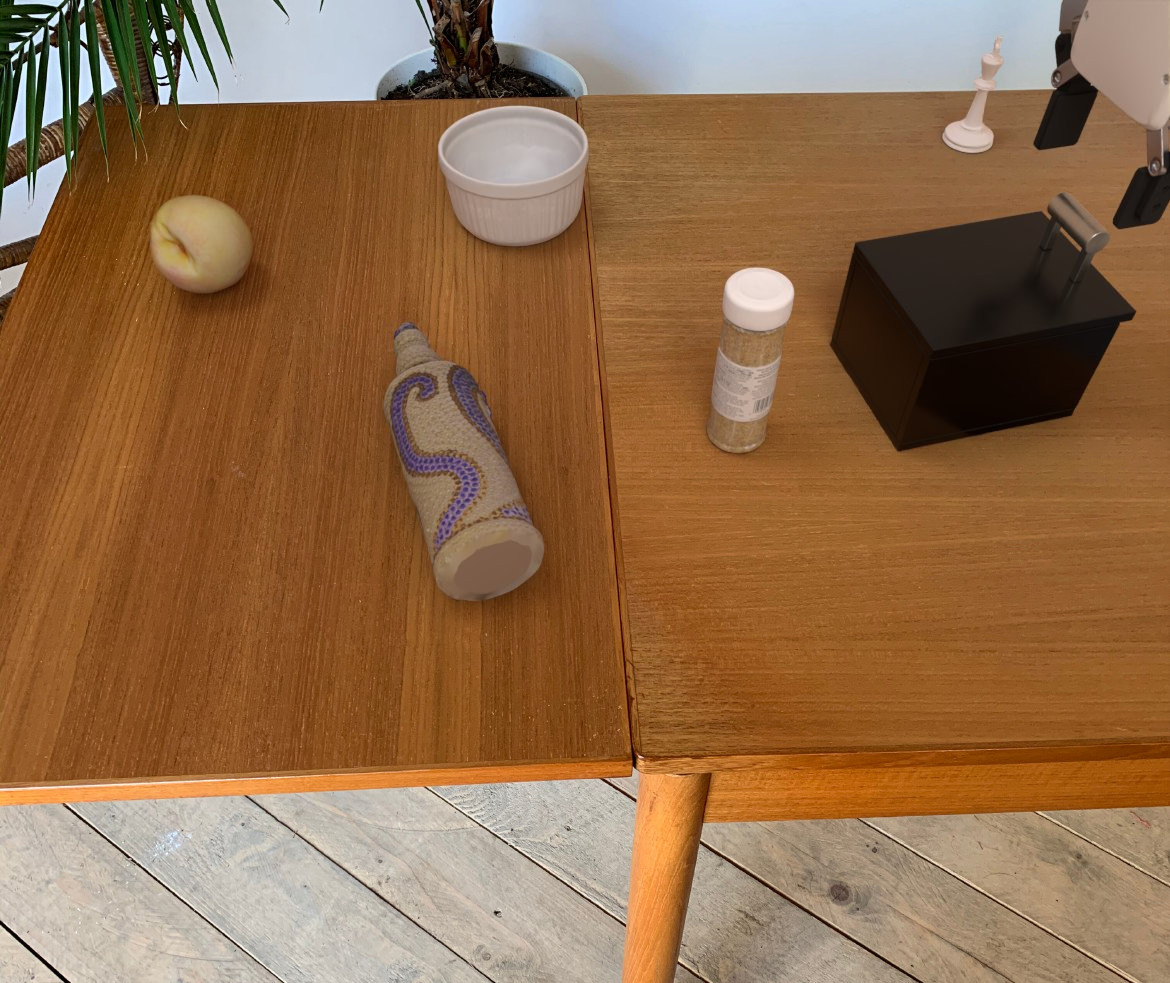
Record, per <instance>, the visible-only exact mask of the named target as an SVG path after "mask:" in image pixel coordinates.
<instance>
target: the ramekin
mask: <svg viewBox="0 0 1170 983" xmlns="http://www.w3.org/2000/svg"><path fill="white" fill-rule="evenodd" d="M589 151H590V148H589V139H588V135H587V134H586V132H585V130H584V129H583V128H582V126H581V125H580V124H579V123H578V122H577V121H575V120H574V119H573V118H571V117H569V116H568V115H566V114H563V113H561V112H559V111H556V110H552V109H549V108H545V107H540V106H539V107H538V106H531V105H505V106H497V107H491V108H486V109H482V110H479V111H476V112H473V113H470V114H468V115H466V116H464V117H462V118H460V119H458V120H456V121H455V122H454V123H452V124H451V125H450V126H449V127H448V128H446V129H445V131H444V132H443V133H442V134H441V136H440V138H439V141H438V145H437V157H438V165H439V168H440V170H441V172H442V174H443V175H444V178H445V182H446V187H447V190H448V194H449V198H450V202H451V206H452V209H453V212H454V214H455V216H456V218H457V220H458V221H459V222H460V224H461V226H462V227H464V228H465V229H466V230H467V231H468V232H469V233H470V234H472V235H473V236H474V237H476V238H477V239H479V240H482V241H484V242H486V243H489V244H493V245H497V246H503V247H527V246H533V245H538V244H542V243H545V242H547V241H550V240H552V239H554V238H556V237H558V236H560V235H561V234H563V233H564V232H565V231H566V230H567V229H568V228H569V227H570V226H571V224H573V222H574V221H575V220H576V218H577V216H578V214H579V212H580V210H581V206H582V199H583V193H584V186H585V178H586V177H585V175H586V168H587V166H588V162H589V157H590V152H589Z"/></svg>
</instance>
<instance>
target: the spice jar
mask: <svg viewBox="0 0 1170 983" xmlns="http://www.w3.org/2000/svg"><path fill="white" fill-rule="evenodd" d="M794 299H795V288H794V285H793V283H792V281H791V280H790V279H789V278H788V277H787V276H786V275H784V274H783V273H781V272H779V271H778V270H775V269H771V268H767V267H758V266H757V267H756V266H755V267H747V268H743V269H740V270H738V271H736V272H734V273H732V274H731V275H730V276H729V278H728V279H727V280H726V282H725V284H724V289H723V295H722V303H721V309H722V310H721V311H722V314H723V315H722V316H723V317H722V324H721V332H720V338H719V344H718V349H717V355H716V363H715V368H714V374H713V382H712V389H711V406H710V413H709V419H708V420H707V424H706V434H707V436H708V438H709V441H710V442H711V443H713V444H714V445H715V446H716V447H717V448H718V449H720V450H722V451H725V452H728V453H732V454H733V453H734V454H743V453H744V454H745V453H749V452H752V451H754V450H756V449H758V448H759V447H761V446H762V444H764V441H765V440H766V436H767V424H768V418H769V414H770V411H771V408H772V406H773V405H772V404H773V399H774V395H775V390H776V384H777V379H778V374H779V370H780V365H781V360H782V355H783V344H784V338H785V332H786V328H787V324H788V322H789V320H790V318H791V315H792V311H793V307H794V306H793V305H794Z"/></svg>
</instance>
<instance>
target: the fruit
mask: <svg viewBox="0 0 1170 983" xmlns="http://www.w3.org/2000/svg"><path fill="white" fill-rule="evenodd" d="M155 213H156V214H155V215H154V217H153V219H152V221H151V224H150V229H149V253H150V256H151V260H152V263H153V265H154V267H155V268H156V270H157V271H158V272H159V273H160V275H162V277H163V278H164V279H165V280H166V281H167V282H169V283H170V284H171V285H173V286H175V287H176V288H177V289H180V290H183V291H186V292H189V293H193V294H214V293H217V292H221V291H223V290H225V289H228V288H230V287H233V286H234V285H236V284H237V283H238V282H239V281H241V279H242V278H243V277H244V275H245V273H246V272H247V270H248V268H249V266H250V263H251V261H252V260H251V259H252V256H253V252H254V240H253V236H252V233H251V230H250V228H249V226H248V224H247V223H246V221H245V219H244V218H243V216H241V215H240V213H239V212H238V211H237V210H235V209H234V208H233V207H231V206H230V205H228V204H227V203H225V202H223V201H221V200H219V199H217V198H214V197H210V196H205V195H201V194H188V195H181V196H175V197H173V198H170V199H169V200H167V201H165V202H164V203H163V204H161V205H160V207H159V208H158V210H157V211H156V212H155Z"/></svg>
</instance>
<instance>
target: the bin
mask: <svg viewBox="0 0 1170 983" xmlns="http://www.w3.org/2000/svg"><path fill="white" fill-rule="evenodd" d="M1120 325H1121V322H1120V323H1115V324H1110V325H1105V326H1100V327H1094V328H1089V329H1084V330H1079V331H1074V332H1068V333H1063V334H1058V335H1053V336H1047V337H1042V338H1037V339H1032V340H1027V341H1021V342H1016V343H1011V344H1006V345H1000V346H995V347H990V348H985V349H980V350H974V351H969V352H964V353H959V354H953V355H948V356H943V357H938V358H933V359H930V357H929V356H928V355H927V353H926V352H925V350H924V349H923V348H922V346H921V345H920V343H919V342H918V341H917V339H916V338H915V337H914V335H913V334H912V332H911V331H910V330H909V328H908V327H907V325H906V324H905V323H904V321H903V320H902V318H901V317H900V316H899V314H898V313H897V312H896V310H895V309H894V307H893V306H892V305H891V303H890V302H889V300H888V299H887V298H886V296H885V295H884V294H883V292H882V291H881V289H880V288H879V287H878V285H877V284H876V282H875V281H874V280H873V278H872V277H871V275H870V274H869V273H868V271H867V270H866V269H865V267H864V266H863V264H862V263H861V262H860V260H859V259H858V257H857V256H856V255H855V253H854V252H853V251H852V253H851V257H850V261H849V265H848V270H847V274H846V278H845V281H844V285H843V290H842V293H841V298H840V302H839V307H838V311H837V314H836V318H835V323H834V327H833V331H832V335H831V339H830V344H829V346H830V347H831V349H832V351H833V352H834V353H835V355H836V357H837V358H838V360H839V362H840V363H841V365H842V366H843V368H844V370H845V371H846V373H847V374H848V376H849V377H850V379H851V380H852V382H853V383H854V386H855V387H856V388H857V390H858V392H859V393H860V395H861V396H862V398H863V399H864V401H865V402H866V404H867V405H868V407H869V409H870V410H871V412H872V413H873V415H874V417H875V418H876V419H877V421H878V423H879V424H880V426H881V427H882V429H883V431H884V432H885V434H886V435H887V437H888V438H889V440H890V441H891V443H892V445H893V446H894V448H895V449H896V451H897V452H904V451H909V450H914V449H917V448H923V447H927V446H932V445H937V444H941V443H946V442H952V441H956V440H961V439H966V438H971V437H977V436H980V435H986V434H990V433H995V432H999V431H1000V432H1001V431H1005V430H1010V429H1013V428H1020V427H1024V426H1025V427H1026V426H1029V425H1034V424H1039V423H1044V422H1048V421H1049V422H1050V421H1052V420H1057V419H1062V418H1068V417H1073V415H1074V412H1075V411H1076V409H1077V407H1078V405H1079V403H1080V401H1081V399H1082V397H1083V395H1084V393H1085V392H1086V390H1087V389H1088V386H1089V384H1090V382H1091V380H1092V379H1093V377H1094V375H1095V372H1096V371H1097V369H1098V367H1099V365H1100V363H1101V361H1102V360H1103V357H1104V355H1105V353H1106V352H1107V350H1108V348H1109V346H1110V344H1111V342H1112V340H1113V338H1114V337H1115V335H1116V333H1117V330H1118V329H1119V327H1120Z"/></svg>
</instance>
